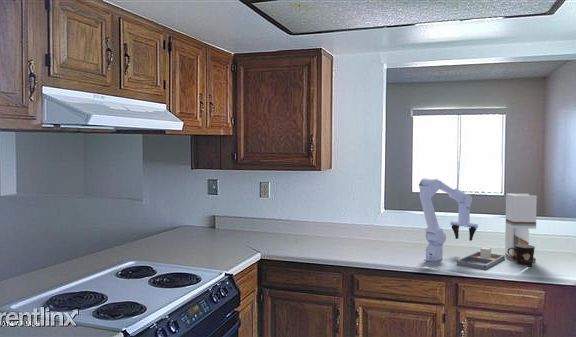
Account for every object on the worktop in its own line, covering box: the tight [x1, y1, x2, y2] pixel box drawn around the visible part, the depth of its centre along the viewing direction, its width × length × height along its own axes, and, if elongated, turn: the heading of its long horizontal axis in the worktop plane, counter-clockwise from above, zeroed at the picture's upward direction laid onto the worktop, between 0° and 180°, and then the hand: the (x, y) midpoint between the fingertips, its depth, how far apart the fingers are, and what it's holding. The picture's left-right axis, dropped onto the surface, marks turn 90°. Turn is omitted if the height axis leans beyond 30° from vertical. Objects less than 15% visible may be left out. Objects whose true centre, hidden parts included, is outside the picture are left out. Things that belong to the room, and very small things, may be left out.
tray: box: [456, 251, 506, 271], centre depth 224 cm, size 28×14×3 cm, turn 136°
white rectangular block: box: [479, 246, 492, 259], centre depth 229 cm, size 4×4×6 cm
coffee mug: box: [507, 244, 536, 268], centre depth 221 cm, size 12×9×10 cm
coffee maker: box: [504, 193, 538, 263], centre depth 232 cm, size 11×11×35 cm
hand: (463, 239), depth 240 cm, fingers open, 7 cm apart
